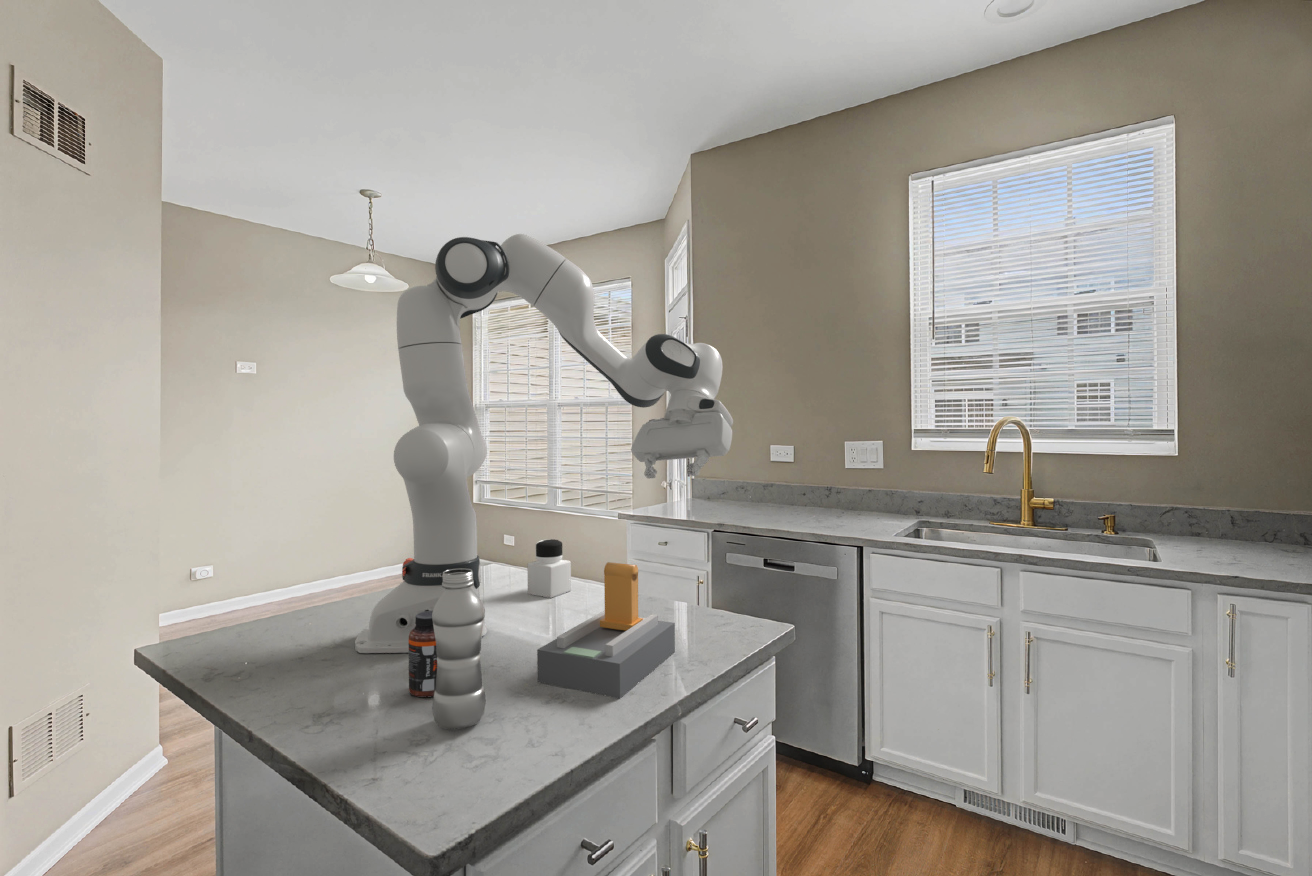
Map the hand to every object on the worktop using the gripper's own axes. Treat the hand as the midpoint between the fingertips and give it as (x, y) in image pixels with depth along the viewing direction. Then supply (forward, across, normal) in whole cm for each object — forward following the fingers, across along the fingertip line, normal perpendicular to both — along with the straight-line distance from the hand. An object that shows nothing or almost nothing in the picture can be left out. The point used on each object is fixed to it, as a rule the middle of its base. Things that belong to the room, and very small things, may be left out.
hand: (670, 475), depth 119 cm
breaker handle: (+28, -2, +2) cm, 28 cm away
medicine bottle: (+15, -41, +22) cm, 49 cm away
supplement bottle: (+46, -19, -16) cm, 53 cm away
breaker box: (+35, -2, +2) cm, 35 cm away
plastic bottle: (+50, -7, -19) cm, 54 cm away
